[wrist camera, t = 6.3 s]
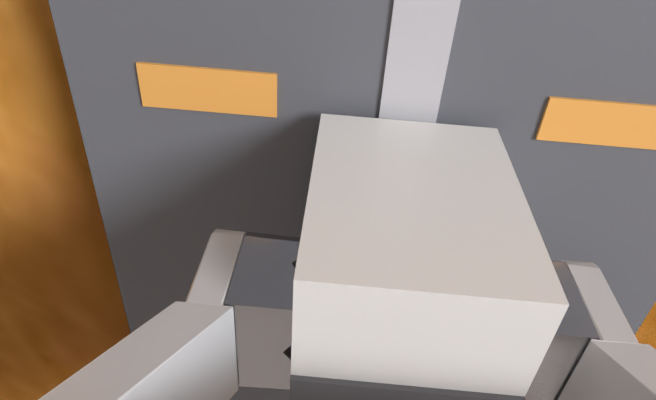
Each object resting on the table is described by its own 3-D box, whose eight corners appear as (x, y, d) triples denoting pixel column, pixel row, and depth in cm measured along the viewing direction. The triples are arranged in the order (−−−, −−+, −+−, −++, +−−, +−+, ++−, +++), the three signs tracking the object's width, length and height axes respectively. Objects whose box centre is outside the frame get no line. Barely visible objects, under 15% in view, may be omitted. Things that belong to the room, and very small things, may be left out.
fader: (450, 293, 11) (483, 489, 8) (311, 280, 11) (286, 470, 8) (497, 128, 9) (570, 310, 6) (321, 113, 9) (292, 285, 6)
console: (486, 501, 21) (496, 559, 20) (192, 472, 21) (177, 527, 20) (1041, -579, 6) (1309, -735, 4) (-14, -644, 6) (-159, -816, 4)
